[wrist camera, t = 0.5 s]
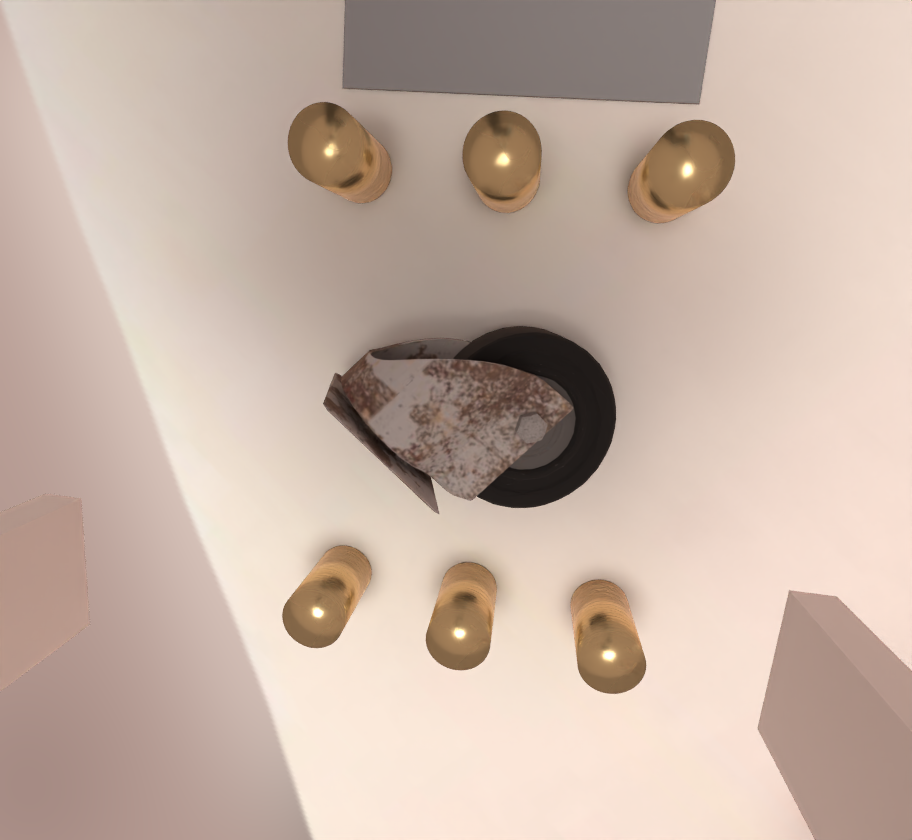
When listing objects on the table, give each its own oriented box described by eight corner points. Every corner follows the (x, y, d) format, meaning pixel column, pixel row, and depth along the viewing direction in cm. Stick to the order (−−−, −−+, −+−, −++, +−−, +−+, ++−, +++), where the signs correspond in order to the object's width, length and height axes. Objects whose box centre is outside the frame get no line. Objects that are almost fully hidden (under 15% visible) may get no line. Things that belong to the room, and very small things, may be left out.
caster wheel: (613, 401, 31) (476, 523, 32) (475, 238, 28) (327, 379, 29) (674, 439, 25) (500, 591, 25) (503, 233, 21) (311, 415, 22)
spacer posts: (331, 134, 27) (288, 100, 22) (702, 154, 25) (742, 121, 21) (318, 591, 33) (281, 643, 28) (623, 634, 31) (640, 698, 26)
